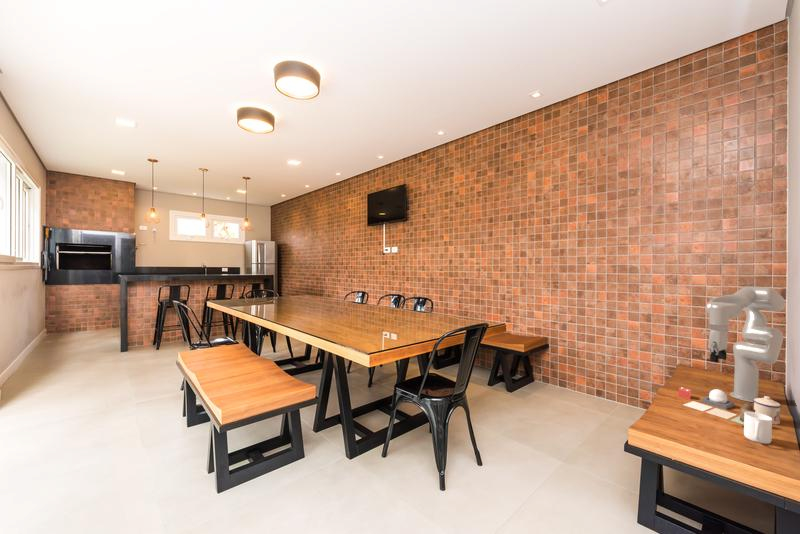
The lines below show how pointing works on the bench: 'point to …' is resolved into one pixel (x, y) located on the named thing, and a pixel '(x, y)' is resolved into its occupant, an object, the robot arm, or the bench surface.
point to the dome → (718, 396)
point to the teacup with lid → (768, 408)
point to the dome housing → (723, 406)
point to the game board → (714, 411)
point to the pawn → (745, 410)
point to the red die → (684, 392)
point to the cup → (758, 427)
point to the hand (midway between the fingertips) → (718, 360)
